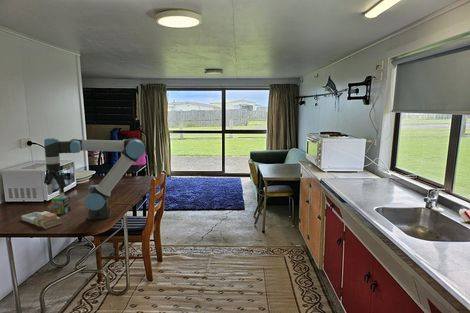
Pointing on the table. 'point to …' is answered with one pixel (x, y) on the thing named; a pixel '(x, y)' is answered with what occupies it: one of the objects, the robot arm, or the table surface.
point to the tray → (30, 217)
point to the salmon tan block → (50, 217)
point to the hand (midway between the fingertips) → (55, 196)
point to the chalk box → (61, 205)
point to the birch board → (47, 222)
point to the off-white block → (42, 214)
